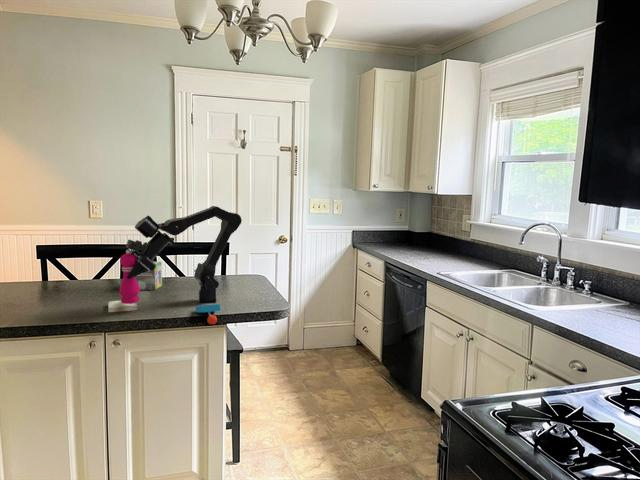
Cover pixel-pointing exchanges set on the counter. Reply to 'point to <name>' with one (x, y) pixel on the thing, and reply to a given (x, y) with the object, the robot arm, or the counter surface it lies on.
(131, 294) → the pepper mill
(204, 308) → the lever
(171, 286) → the counter surface
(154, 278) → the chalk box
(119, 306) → the plinth
